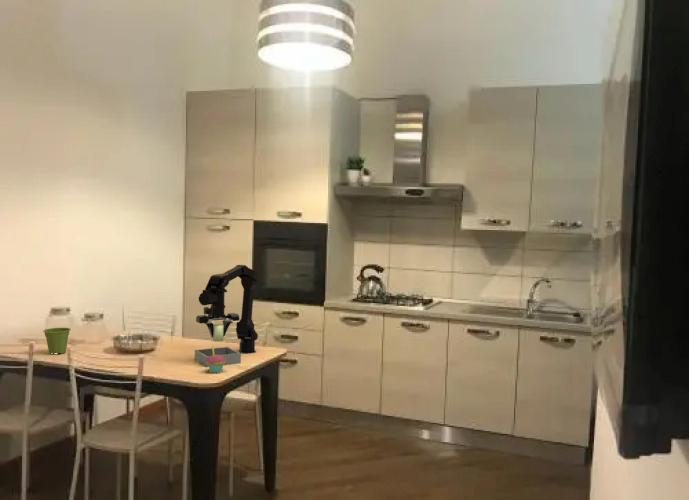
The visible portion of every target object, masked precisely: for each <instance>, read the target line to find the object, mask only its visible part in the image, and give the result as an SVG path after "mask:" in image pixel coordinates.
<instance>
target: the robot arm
mask: <svg viewBox="0 0 689 500" xmlns="http://www.w3.org/2000/svg"><path fill="white" fill-rule="evenodd" d="M209 277H210V278H209V280H208V282H207V283H206V286H205V288H204V289H203V290H202V292H201V293H200V294H199V297H198V302H199V304H200V305H202V306H204V307H203V315H202V314H201V315H199V314H198V315H196V318H195V321H196V323H199V324H205V325H206V327H207V329H208V331H209V333H210V337H211V338H213V325H214V323H213V321H221V322H222V324H223V338H224V337H225V335H226V333H227V331H228V329H229V328H230V325H231V324H233V322H235V321H237V322H236V328H235V332H236V337H237V340H240V341H239V346H238V347H239V350H238V352H239V353H241V354H251V353H256V352H257V351H256V349H255V345H256V342H255V341H257V340H258V339H259V334H258V333H257V332H256V329H255V324H254V322H253V317H252V316H253V305H254V294H255V289H256V288H257V286H258V284H259V280H260V276H259V274H258V272H257V271H255V270H254V269H252V268H250V267H248V266H247V265H245V264H236V265H235V266H234V267H233V268H231V269H228V270H227V271H225V272H223V273H216V274H213V275H211V276H209ZM236 278H239V279H240V284H241V286H242V289H243V295H242V305H241V306H242V307H241V317H240V315H239V314H238V313H235V312H229V313H227V314H226V313H225V309H226V305H225V294H226V293H227V292H228V290H227V289H226V287H228V285H229V284H230V282H231V281H233V280H235V279H236ZM209 305H210V307H209Z"/></svg>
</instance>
